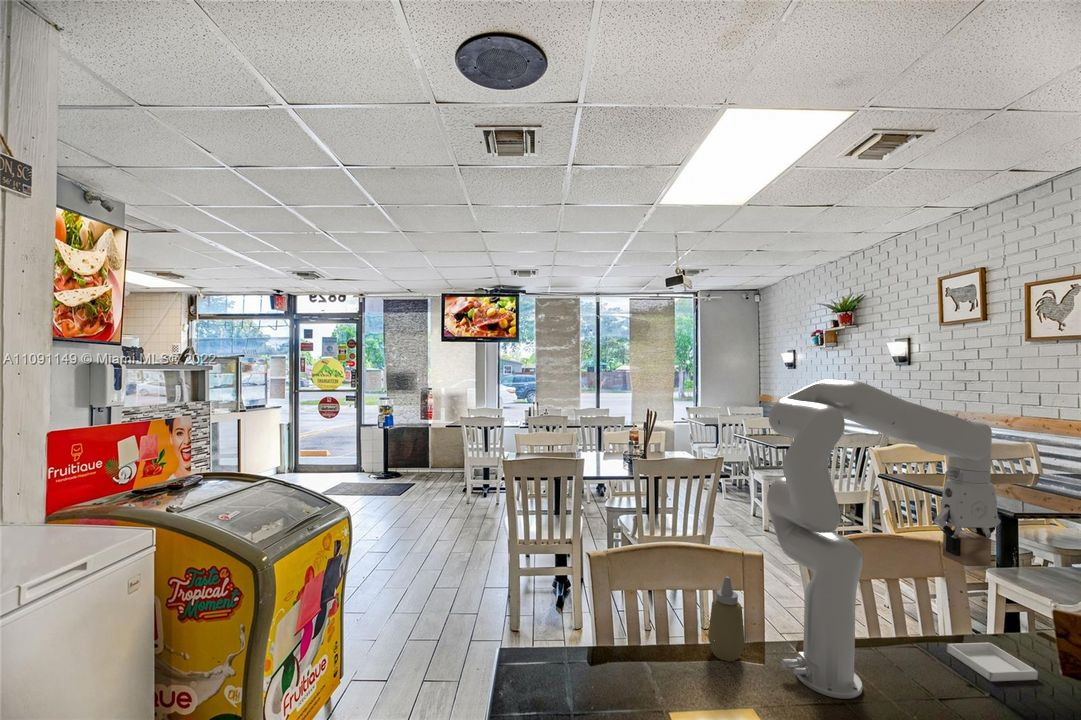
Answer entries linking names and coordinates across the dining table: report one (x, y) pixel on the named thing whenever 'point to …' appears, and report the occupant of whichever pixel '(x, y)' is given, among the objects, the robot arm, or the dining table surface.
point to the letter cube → (971, 549)
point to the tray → (992, 662)
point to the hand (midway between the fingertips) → (966, 552)
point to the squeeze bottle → (726, 624)
